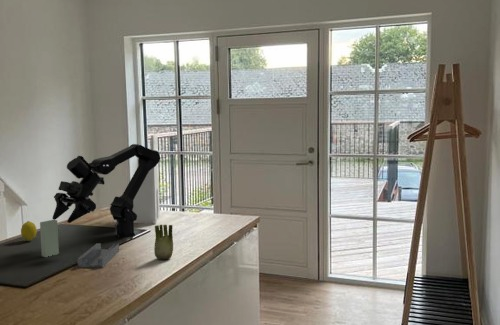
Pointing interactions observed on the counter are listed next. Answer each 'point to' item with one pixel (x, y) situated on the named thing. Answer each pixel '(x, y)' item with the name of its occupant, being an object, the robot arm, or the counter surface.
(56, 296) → the counter surface
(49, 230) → the door panel
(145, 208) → the white bracket plate
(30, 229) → the lemon
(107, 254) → the track
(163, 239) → the fennel bulb
